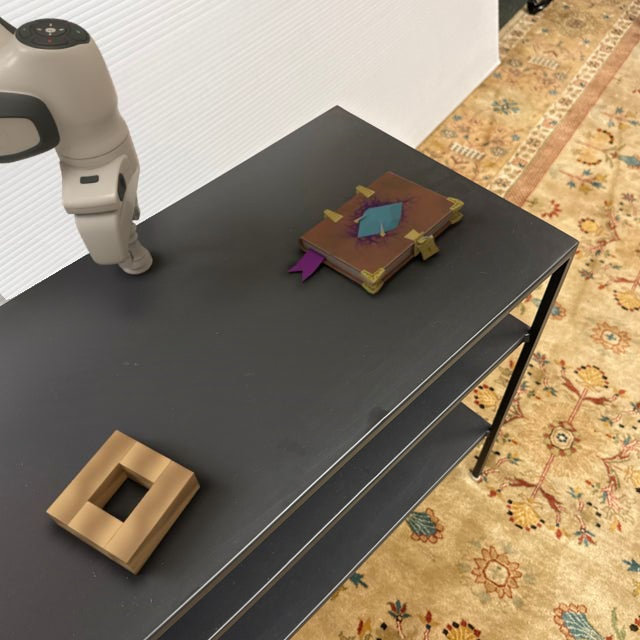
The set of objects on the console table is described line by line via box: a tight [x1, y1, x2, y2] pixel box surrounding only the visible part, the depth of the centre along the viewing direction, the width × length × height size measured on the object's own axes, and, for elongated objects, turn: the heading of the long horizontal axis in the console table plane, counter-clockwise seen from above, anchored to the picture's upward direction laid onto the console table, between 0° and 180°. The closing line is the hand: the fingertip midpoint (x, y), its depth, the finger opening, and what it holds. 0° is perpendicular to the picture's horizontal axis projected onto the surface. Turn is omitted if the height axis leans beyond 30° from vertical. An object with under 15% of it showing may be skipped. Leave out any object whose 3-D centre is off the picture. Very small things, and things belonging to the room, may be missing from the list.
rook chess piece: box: [122, 221, 153, 275], centre depth 91 cm, size 4×4×8 cm
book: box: [286, 170, 465, 295], centre depth 92 cm, size 16×25×5 cm, turn 137°
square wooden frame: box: [45, 429, 200, 575], centre depth 69 cm, size 11×11×4 cm
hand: (131, 240), depth 89 cm, fingers open, 8 cm apart
